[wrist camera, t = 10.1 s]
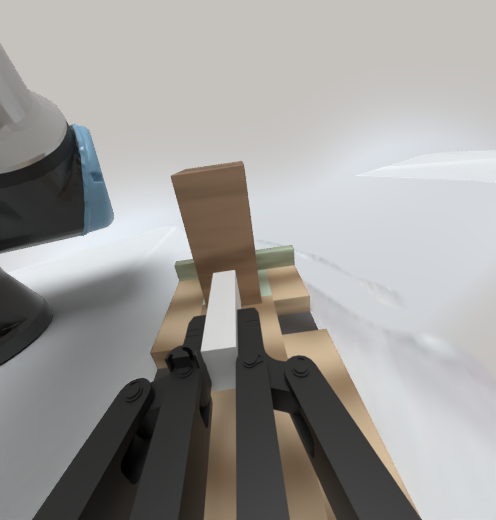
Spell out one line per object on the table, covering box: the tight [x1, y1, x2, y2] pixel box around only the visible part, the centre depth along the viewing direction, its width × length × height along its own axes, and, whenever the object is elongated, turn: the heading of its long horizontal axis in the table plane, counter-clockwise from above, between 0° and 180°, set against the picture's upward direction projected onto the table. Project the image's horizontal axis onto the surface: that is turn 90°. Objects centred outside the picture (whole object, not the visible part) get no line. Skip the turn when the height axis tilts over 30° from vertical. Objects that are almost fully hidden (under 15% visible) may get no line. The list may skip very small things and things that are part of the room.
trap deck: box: [150, 245, 419, 520], centre depth 21 cm, size 25×16×5 cm, turn 4°
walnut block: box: [171, 161, 262, 309], centre depth 24 cm, size 6×6×14 cm
